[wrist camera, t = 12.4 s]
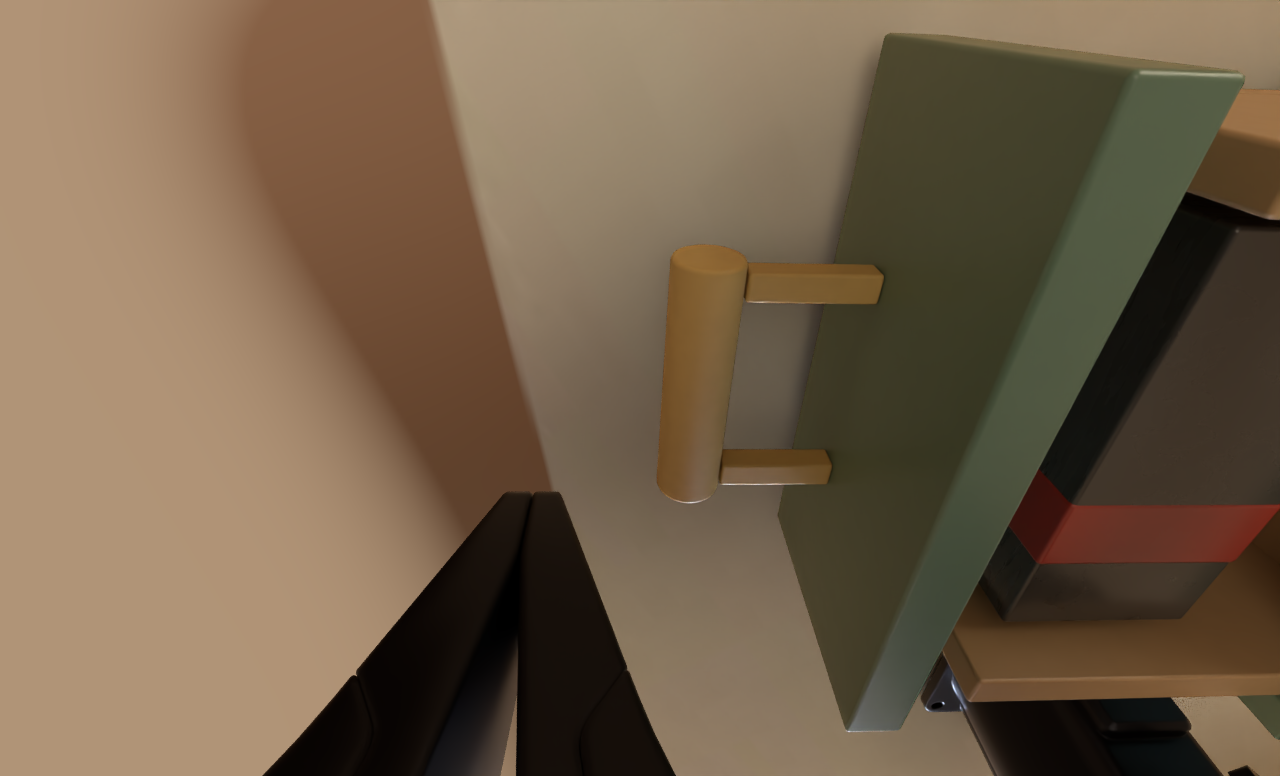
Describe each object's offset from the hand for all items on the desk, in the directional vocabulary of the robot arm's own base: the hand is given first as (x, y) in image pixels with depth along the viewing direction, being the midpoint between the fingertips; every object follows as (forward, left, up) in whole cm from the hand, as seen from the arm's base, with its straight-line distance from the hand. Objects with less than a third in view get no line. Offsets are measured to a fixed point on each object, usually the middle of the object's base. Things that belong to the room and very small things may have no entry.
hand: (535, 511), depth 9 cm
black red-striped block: (0, -11, -5) cm, 12 cm away
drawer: (0, -10, -6) cm, 12 cm away
